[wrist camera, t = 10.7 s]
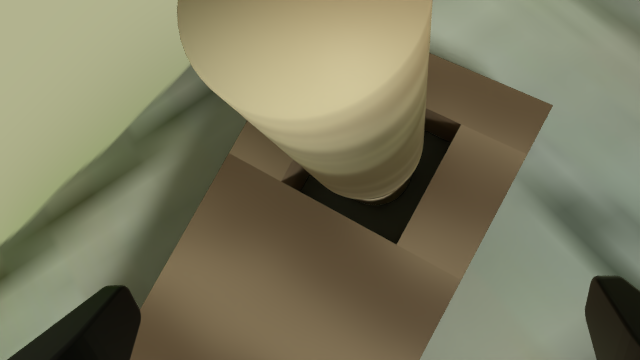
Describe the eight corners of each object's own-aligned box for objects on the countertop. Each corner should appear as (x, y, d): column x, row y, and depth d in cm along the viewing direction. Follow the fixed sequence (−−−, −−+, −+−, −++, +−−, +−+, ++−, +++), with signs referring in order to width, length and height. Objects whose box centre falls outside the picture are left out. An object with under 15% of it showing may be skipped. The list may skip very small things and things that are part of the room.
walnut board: (249, 666, 18) (218, 742, 15) (64, 504, 21) (7, 543, 18) (532, 128, 20) (553, 105, 17) (326, 37, 22) (313, 3, 19)
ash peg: (412, 223, 20) (404, 138, 7) (321, 204, 21) (149, 96, 7) (429, 132, 21) (455, -121, 7) (340, 118, 21) (211, -130, 8)
